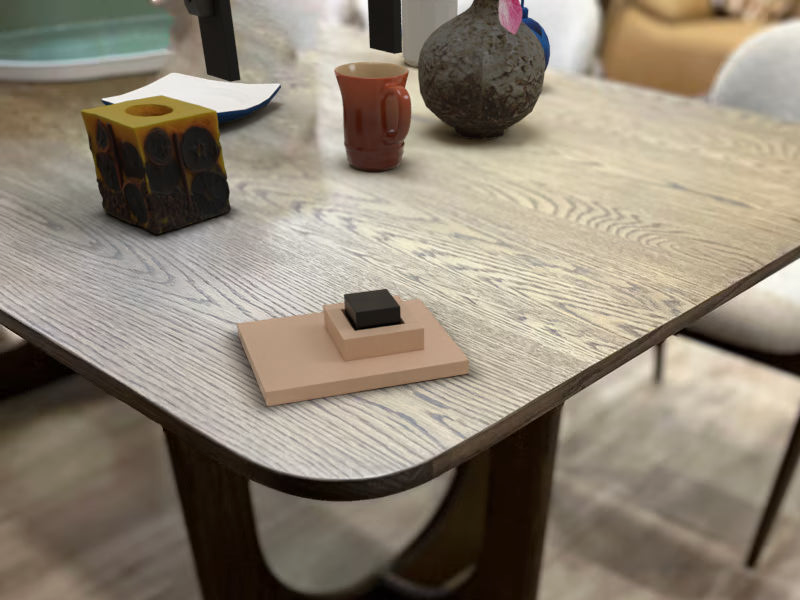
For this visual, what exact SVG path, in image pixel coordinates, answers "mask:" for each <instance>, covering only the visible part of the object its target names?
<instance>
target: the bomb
mask: <svg viewBox="0 0 800 600" xmlns="http://www.w3.org/2000/svg"><path fill="white" fill-rule="evenodd" d="M520 5H521V8H522V20H521V21H522V22H524V23H525V24H526V25H527V26H528V27H529V28H530V29H531V30H532V32H533V33H534V34H535V35H536V37H537V38H538V39H539V41H540V42H541V45H542V47H543V50H544V53H545V72H546V70H547V69H548V66H549V63H550V57H551V44H550V40H549V37H548V34H547V33H546V30H545V29H544V27H543V26H542V25H541V24H540V23H539V21H537V20H535V19H533V18H532V17H529V8H528V7H526V6H525V0H520Z"/></svg>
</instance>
